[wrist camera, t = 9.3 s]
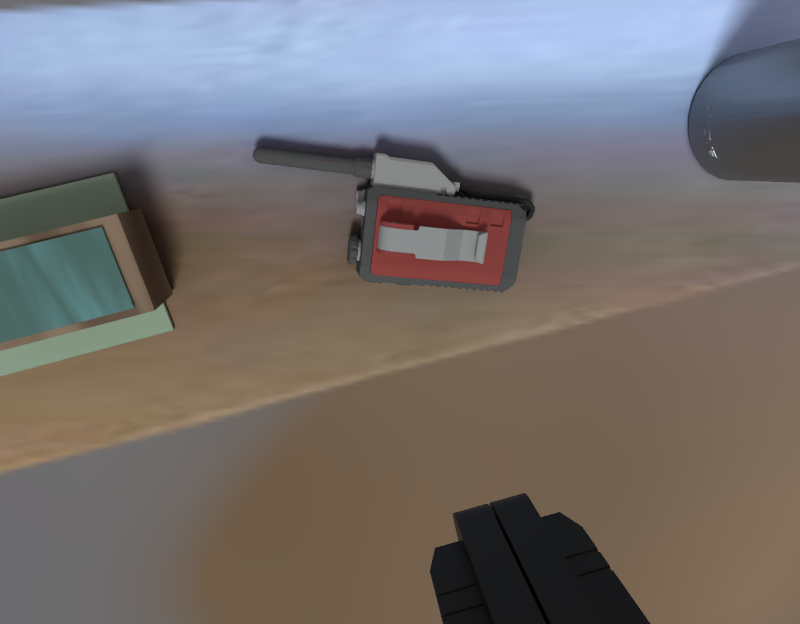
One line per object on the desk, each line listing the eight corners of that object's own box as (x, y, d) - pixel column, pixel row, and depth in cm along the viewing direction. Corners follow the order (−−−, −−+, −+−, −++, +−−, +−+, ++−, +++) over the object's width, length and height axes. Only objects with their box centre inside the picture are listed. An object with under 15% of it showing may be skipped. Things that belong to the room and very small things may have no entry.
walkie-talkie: (532, 174, 39) (255, 137, 35) (559, 175, 35) (248, 133, 31) (512, 289, 41) (249, 266, 37) (535, 302, 37) (242, 278, 33)
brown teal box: (115, 214, 30) (-67, 258, 29) (154, 311, 32) (-17, 356, 31) (140, 208, 34) (-17, 246, 34) (172, 293, 36) (24, 332, 35)
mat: (114, 172, 34) (112, 172, 34) (174, 328, 37) (173, 330, 37) (-80, 218, 33) (-83, 218, 32) (-1, 375, 36) (-3, 376, 36)
